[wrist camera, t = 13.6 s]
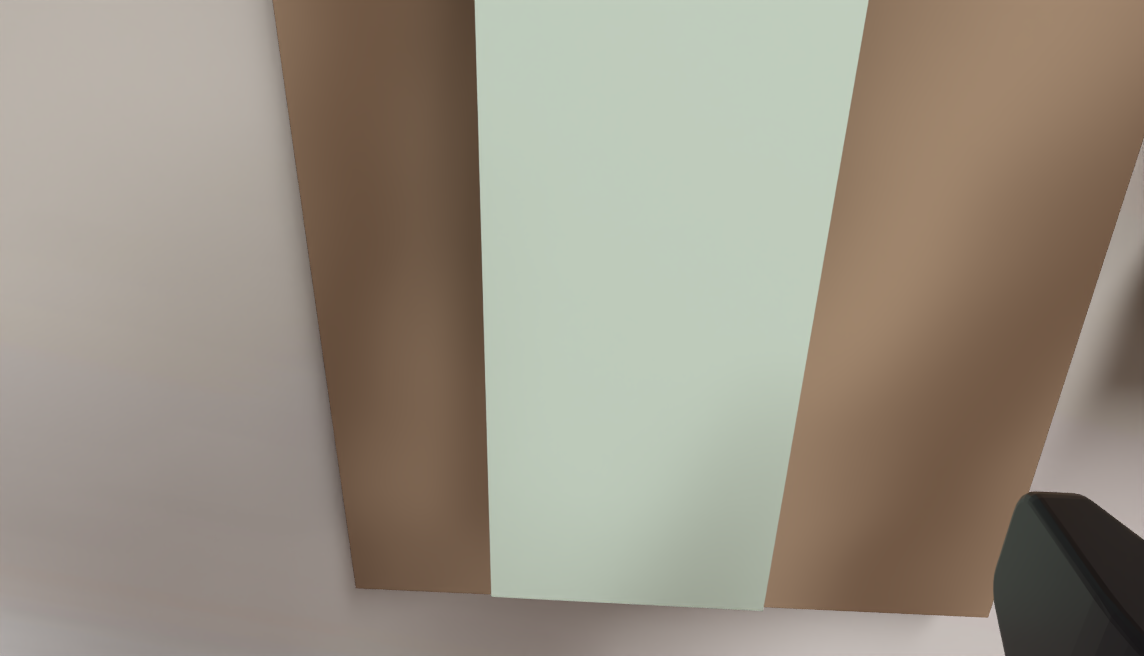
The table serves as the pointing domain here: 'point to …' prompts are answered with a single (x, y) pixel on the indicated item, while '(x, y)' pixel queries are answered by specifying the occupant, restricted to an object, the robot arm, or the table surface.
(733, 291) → the sanding block
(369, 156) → the walnut board
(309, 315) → the table surface
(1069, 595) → the robot arm
